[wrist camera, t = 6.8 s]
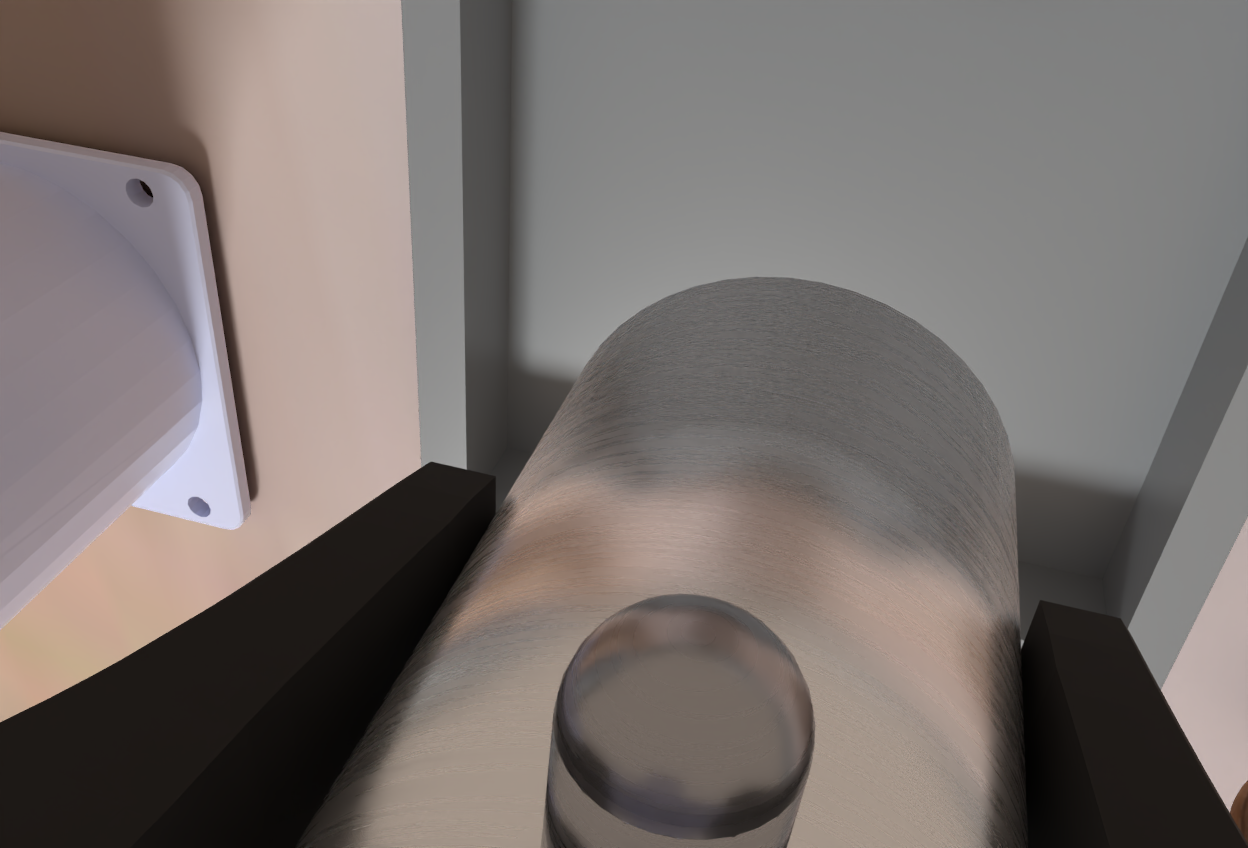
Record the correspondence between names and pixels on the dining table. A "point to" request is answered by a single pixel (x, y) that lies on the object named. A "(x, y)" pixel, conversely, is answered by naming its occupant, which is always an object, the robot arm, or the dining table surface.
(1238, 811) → the tin
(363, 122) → the dining table surface
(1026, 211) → the parts tray
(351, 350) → the dining table surface
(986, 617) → the handled mug
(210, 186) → the dining table surface
